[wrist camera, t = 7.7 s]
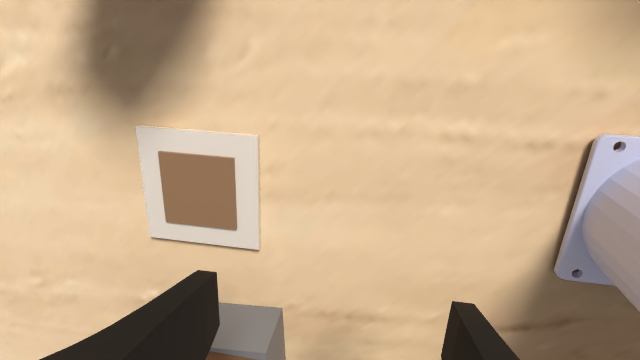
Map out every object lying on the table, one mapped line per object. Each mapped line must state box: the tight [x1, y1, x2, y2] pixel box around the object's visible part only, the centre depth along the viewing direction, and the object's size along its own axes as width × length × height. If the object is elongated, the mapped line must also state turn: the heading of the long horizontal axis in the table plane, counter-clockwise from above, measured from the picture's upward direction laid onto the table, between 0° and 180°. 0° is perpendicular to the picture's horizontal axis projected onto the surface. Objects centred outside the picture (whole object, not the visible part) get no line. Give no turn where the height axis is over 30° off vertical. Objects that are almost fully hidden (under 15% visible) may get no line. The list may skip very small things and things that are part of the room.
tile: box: [135, 125, 261, 250], centre depth 23 cm, size 7×7×1 cm
